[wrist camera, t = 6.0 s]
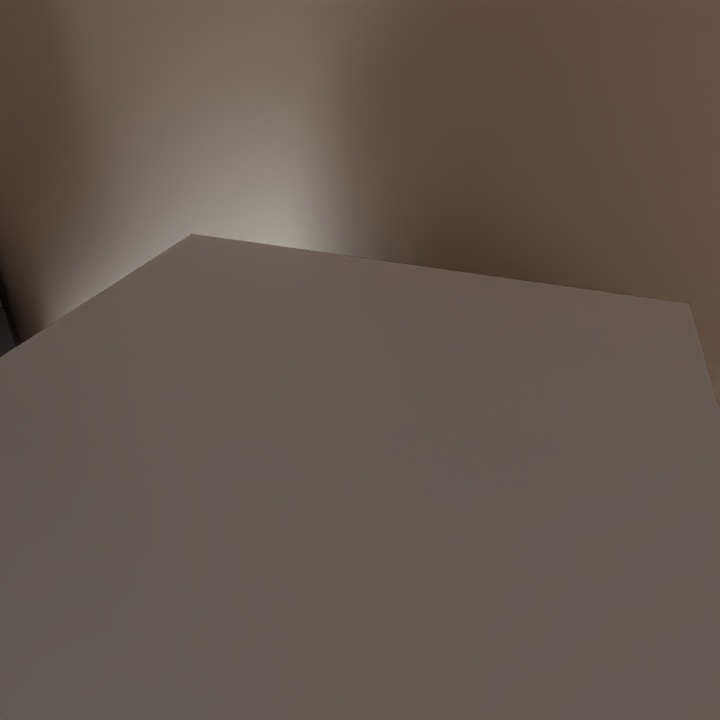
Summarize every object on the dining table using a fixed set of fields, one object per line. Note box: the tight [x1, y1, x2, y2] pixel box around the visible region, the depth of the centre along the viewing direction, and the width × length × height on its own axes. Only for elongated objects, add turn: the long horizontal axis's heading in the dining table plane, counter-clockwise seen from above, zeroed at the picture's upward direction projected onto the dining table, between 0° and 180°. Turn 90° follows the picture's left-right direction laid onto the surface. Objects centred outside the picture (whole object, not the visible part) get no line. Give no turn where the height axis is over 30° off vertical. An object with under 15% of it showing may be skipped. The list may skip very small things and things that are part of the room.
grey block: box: [0, 234, 720, 720], centre depth 8 cm, size 8×8×9 cm
